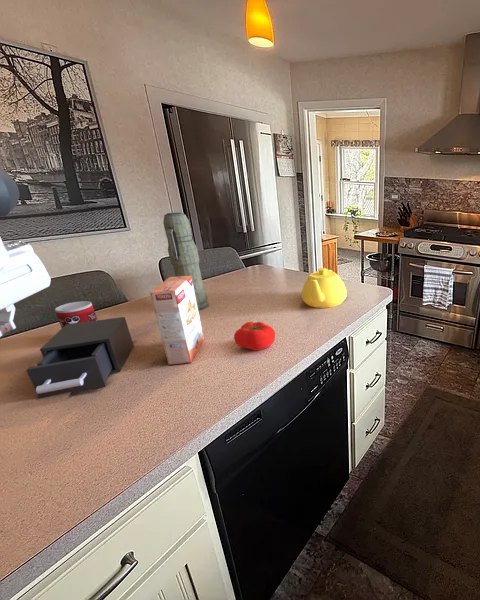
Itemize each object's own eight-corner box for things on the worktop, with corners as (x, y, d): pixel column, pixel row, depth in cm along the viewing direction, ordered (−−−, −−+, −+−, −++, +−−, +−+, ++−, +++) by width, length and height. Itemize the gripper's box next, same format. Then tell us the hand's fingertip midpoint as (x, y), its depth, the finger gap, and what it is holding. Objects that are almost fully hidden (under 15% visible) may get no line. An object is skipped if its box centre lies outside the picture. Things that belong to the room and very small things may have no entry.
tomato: (259, 356, 91) (256, 336, 89) (229, 349, 95) (225, 329, 93) (282, 341, 100) (280, 322, 98) (254, 335, 103) (251, 316, 101)
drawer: (99, 397, 73) (88, 367, 70) (30, 412, 68) (14, 380, 65) (121, 359, 87) (113, 333, 85) (65, 369, 83) (54, 342, 80)
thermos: (213, 300, 131) (195, 211, 118) (202, 312, 120) (181, 215, 107) (189, 302, 129) (168, 211, 117) (176, 313, 118) (151, 215, 106)
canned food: (62, 342, 97) (48, 308, 94) (93, 331, 104) (82, 299, 100) (76, 347, 95) (63, 312, 91) (108, 335, 102) (97, 303, 98)
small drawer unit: (120, 371, 84) (108, 338, 80) (54, 384, 78) (39, 349, 75) (134, 346, 96) (124, 316, 92) (78, 355, 91) (66, 324, 87)
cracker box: (193, 363, 88) (175, 290, 80) (167, 366, 86) (147, 292, 79) (206, 339, 100) (191, 274, 93) (184, 342, 99) (167, 276, 91)
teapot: (338, 315, 119) (336, 280, 114) (291, 313, 120) (287, 278, 115) (352, 292, 142) (350, 262, 137) (312, 291, 143) (309, 261, 138)
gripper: (6, 235, 58) (36, 304, 64) (-157, 281, 40) (-93, 371, 46) (46, 238, 59) (72, 305, 65) (-96, 284, 41) (-41, 372, 47)
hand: (2, 333), depth 55 cm, fingers closed
